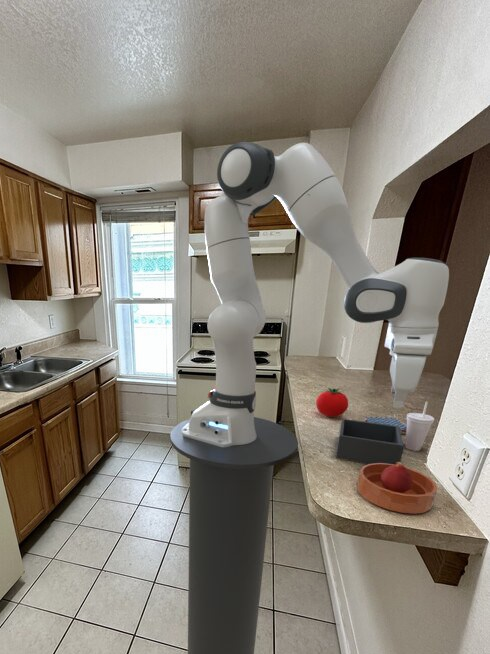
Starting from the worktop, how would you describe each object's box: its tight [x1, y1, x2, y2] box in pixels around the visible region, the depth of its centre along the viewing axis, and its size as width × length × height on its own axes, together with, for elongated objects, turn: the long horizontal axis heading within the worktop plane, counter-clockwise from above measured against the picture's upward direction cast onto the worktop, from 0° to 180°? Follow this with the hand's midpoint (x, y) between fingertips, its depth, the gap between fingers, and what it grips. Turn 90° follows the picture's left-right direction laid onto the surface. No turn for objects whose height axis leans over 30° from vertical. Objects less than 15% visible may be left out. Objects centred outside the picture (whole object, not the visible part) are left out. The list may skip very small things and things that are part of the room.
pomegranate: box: [381, 461, 413, 494], centre depth 77 cm, size 6×6×8 cm
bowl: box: [356, 463, 438, 515], centre depth 78 cm, size 14×14×4 cm
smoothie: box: [404, 401, 435, 452], centre depth 99 cm, size 6×6×14 cm
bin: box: [335, 418, 405, 465], centre depth 98 cm, size 15×15×7 cm
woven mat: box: [363, 416, 407, 435], centre depth 115 cm, size 10×11×2 cm
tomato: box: [315, 387, 349, 418], centre depth 125 cm, size 10×10×10 cm
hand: (396, 401), depth 80 cm, fingers open, 8 cm apart
